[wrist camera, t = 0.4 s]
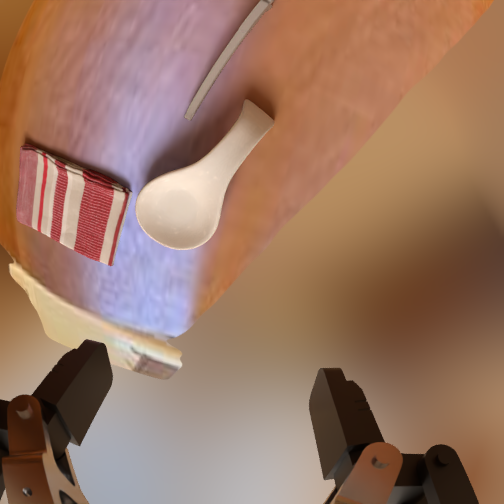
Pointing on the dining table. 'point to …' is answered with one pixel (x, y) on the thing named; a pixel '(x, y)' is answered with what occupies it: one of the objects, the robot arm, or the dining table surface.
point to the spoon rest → (199, 187)
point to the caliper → (228, 54)
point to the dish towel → (71, 204)
